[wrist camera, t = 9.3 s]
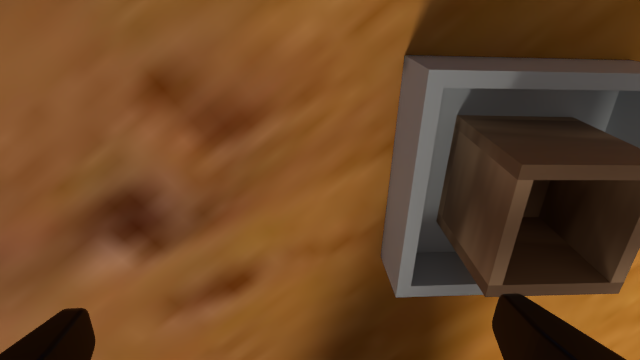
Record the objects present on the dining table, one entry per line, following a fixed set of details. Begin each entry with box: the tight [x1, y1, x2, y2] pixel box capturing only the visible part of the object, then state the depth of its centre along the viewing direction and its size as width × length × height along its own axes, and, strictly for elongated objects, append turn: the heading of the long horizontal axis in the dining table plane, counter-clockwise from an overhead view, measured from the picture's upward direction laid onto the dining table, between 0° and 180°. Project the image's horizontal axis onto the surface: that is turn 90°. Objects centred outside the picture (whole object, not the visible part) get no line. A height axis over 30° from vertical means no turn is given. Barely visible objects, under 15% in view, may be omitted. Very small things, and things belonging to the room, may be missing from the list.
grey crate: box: [381, 55, 640, 297], centre depth 21 cm, size 11×11×4 cm
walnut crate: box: [436, 115, 640, 297], centre depth 19 cm, size 6×6×6 cm
